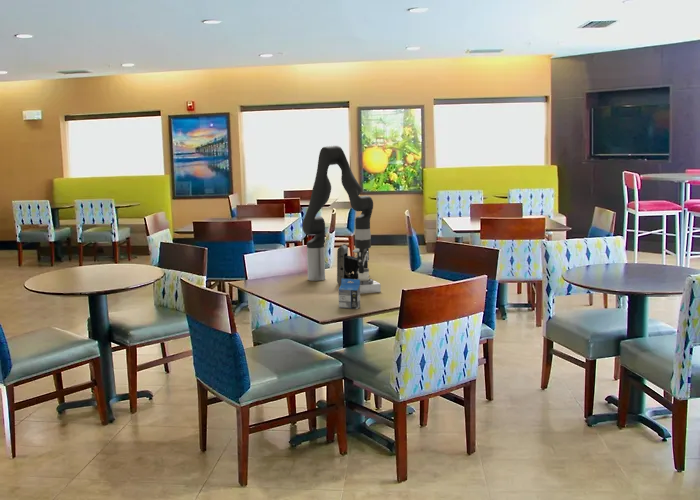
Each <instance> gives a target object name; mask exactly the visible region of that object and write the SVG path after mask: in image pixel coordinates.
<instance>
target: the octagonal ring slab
mask: <svg viewBox="0 0 700 500" xmlns="http://www.w3.org/2000/svg"><path fill="white" fill-rule="evenodd" d="M348 283H354V282H351V281H350V282H348ZM381 287H382V285H381V283H380V282H378V281H376V280H374V279H372V278H369V281H364V282H362V281H360V295H362V294H372V293H373V294H374V293H381Z"/></svg>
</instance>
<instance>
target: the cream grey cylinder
mask: <svg viewBox="0 0 700 500" xmlns="http://www.w3.org/2000/svg"><path fill="white" fill-rule="evenodd" d="M357 272H358V279H360V281H362V282H364V281H369V279H370V278H369V277H370V276H369V274H370V273H369V272H370V269H369V267H368V268H364V273H359V269H358V271H357Z"/></svg>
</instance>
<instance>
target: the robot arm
mask: <svg viewBox="0 0 700 500" xmlns="http://www.w3.org/2000/svg"><path fill="white" fill-rule="evenodd" d="M333 165H334V166H335V165H337V166H338V167H339V169H340V171H341V177H340V178H341V179H340V181H341V185H342V186H343V189H344V190H345V192H346V193H347V195H348V199H349V203H350V206H351V208H352V209H353V210H354V211H355V212H361V214H360V215H358V216H356V217H355V221H354V223H355V224H354V225H355V227H354V228H355V229H354V246H355V249H359V252H357V253H356V255H357V256H356V257H357V264H358V265H359V273H364V268H368V269H369V265H368V263H369V260H370V255H369V254H370V251H369V250H370V249H371V246H372V238H371V237H372V233H371V232H372V231H371V217H372V213H373V210H374V200H373V198H372V197H371V196H370V195H361V193H362V192H363V191H362V187H361V185H360V183H359V181H357V178H356V177H355V175H354V173H353V172H352V169H351V166H350V164H349V161H348V158H347V156H346V155H345V152H344V150H343V148H342V147H341V146H339V145H329V146H328V145H327V146H323V147H321V149H320V151H319V155H318V161H317V167H316V168H317V169H316V173H315V174H316V175H315V179H314V183H313V186H312V190H311V195H310V196H311V197H310V199H309V204H308V207H307V210H306V212H305V216H304V217H303V222H302V231H303V234H304V235H306V236H307V235H308V236H312V235H314V237H313V238H312V239H310V240H308V241H307V242H306V262H307V265H306V266H307V280H308V281H313V282H314V281H316V282H317V281H324V280H326V260H325V259H326V257H325V242H326V238H325V237H326V221H325V219H324V218H323V216H317V214H318V213H319V212H320V210H322V208H324V206H325V205H326V204H327V203H328V202H329V199H330V196H331V192H332V183H331V181H330V178H329V176H328V169H329V166H333ZM359 195H361V196H359ZM360 261H361V262H360Z"/></svg>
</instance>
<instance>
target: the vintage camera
mask: <svg viewBox="0 0 700 500" xmlns="http://www.w3.org/2000/svg"><path fill="white" fill-rule="evenodd" d="M348 247H349V246H348V245H347V244H345V243H343V244H342V245H339V247H338V248H337V250H336V251H337V254H336V257H337V258H336V259H337V260H336V282H337V283H336V284H338V286H341V279H358V274H357V272H358V269H359V265H358V264H357V258H356V257H357V256H356V257H355V256H354V255H352V256H351V255H348V254H349V253H348V252H349V248H348ZM353 256H354V257H353ZM360 262H361V261H360Z"/></svg>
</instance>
